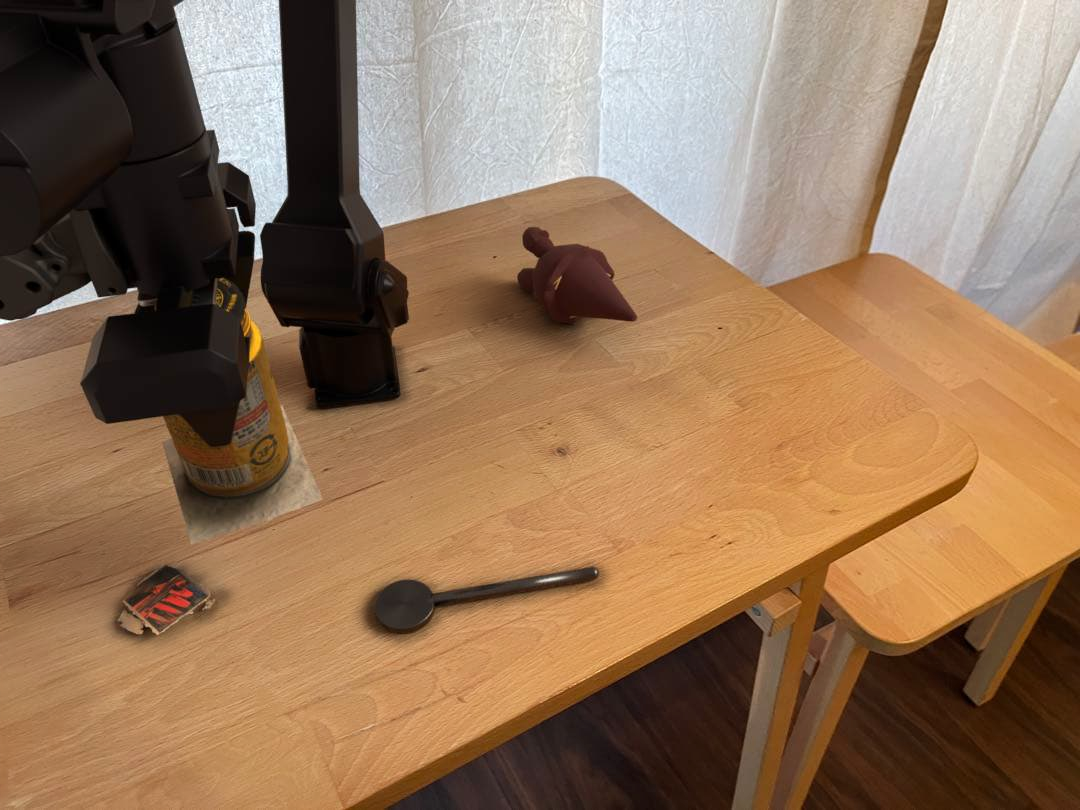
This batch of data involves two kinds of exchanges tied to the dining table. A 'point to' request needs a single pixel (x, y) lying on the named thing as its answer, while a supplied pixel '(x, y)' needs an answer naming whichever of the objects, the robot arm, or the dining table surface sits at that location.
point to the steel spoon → (455, 597)
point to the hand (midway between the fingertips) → (223, 405)
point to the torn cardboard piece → (163, 600)
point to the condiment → (239, 451)
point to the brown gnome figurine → (572, 281)
